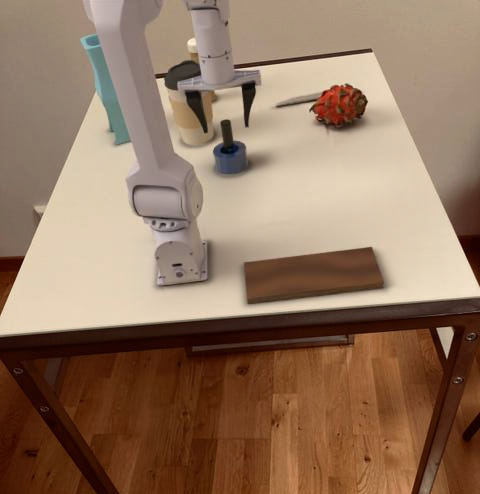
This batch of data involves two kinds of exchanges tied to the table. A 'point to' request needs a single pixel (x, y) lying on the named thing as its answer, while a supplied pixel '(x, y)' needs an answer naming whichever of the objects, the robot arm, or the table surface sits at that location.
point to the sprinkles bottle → (197, 59)
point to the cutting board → (312, 275)
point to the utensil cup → (230, 158)
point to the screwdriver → (227, 134)
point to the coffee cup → (182, 112)
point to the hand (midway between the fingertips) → (226, 127)
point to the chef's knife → (302, 99)
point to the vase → (106, 88)
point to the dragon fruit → (340, 105)
